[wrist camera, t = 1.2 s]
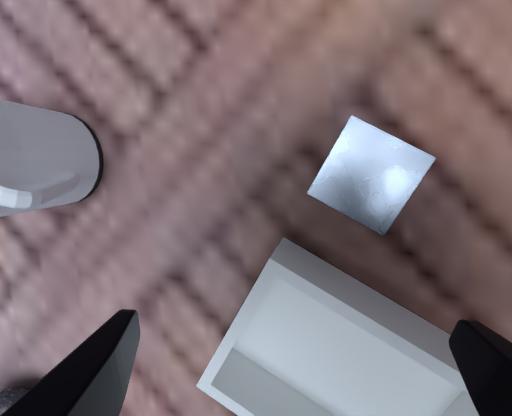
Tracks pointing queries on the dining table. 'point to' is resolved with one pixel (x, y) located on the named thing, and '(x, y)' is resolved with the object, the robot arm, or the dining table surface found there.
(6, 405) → the rock
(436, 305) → the dining table surface
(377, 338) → the tote
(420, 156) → the metal block
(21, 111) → the mug
